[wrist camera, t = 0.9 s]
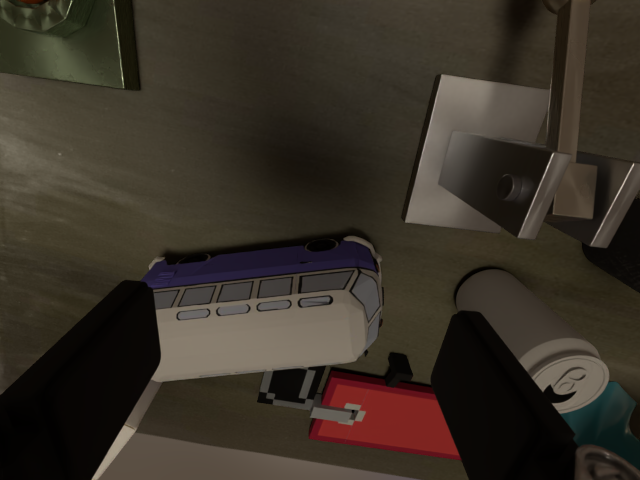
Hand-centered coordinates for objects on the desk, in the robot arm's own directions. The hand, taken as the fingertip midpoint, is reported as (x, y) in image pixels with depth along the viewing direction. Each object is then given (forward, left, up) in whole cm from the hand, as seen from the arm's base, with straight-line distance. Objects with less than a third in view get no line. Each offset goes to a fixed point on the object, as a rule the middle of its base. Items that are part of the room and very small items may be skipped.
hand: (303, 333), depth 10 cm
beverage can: (+9, +19, -20) cm, 29 cm away
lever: (-9, +13, -13) cm, 20 cm away
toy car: (+10, -3, -20) cm, 23 cm away
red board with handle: (+26, +12, -20) cm, 35 cm away
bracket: (-4, +13, -20) cm, 24 cm away
